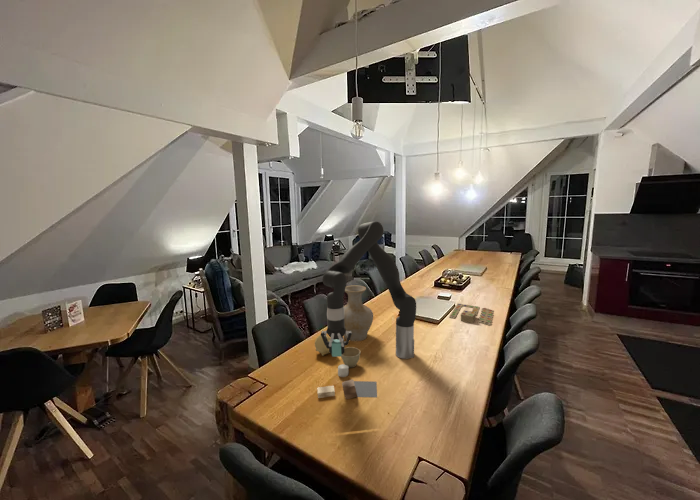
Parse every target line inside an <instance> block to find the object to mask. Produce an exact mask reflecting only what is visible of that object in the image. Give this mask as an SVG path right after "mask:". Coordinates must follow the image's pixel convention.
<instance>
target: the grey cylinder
mask: <svg viewBox="0 0 700 500" xmlns="http://www.w3.org/2000/svg"><path fill="white" fill-rule="evenodd" d="M349 369H350V368H349V367H348V365H345V364H344V363H342V364H339V365H338V367H337V375H338V377H340V378H346V377H348V376H349V373H350V371H349Z"/></svg>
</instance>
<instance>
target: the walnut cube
mask: <svg viewBox="0 0 700 500" xmlns="http://www.w3.org/2000/svg"><path fill="white" fill-rule="evenodd" d="M354 381H355V380H354V378H352V379H348V380H345V381H342V382H341V387H342V390H343V395H344V399H345V400H350V399H354V398H358V397H357V393H356V388H355V384H354Z"/></svg>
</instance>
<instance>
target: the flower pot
mask: <svg viewBox="0 0 700 500" xmlns="http://www.w3.org/2000/svg"><path fill="white" fill-rule="evenodd" d="M360 356H361V349H359V348H357V347H353V346H351V347H350V346H348V347H345V352H344V353H343V355H341V360H342V362H343V364H344V365H348V367H349V369H352V368H355V367H356V366H357V365H358V362H359V360H360Z"/></svg>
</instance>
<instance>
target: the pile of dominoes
mask: <svg viewBox="0 0 700 500" xmlns="http://www.w3.org/2000/svg"><path fill="white" fill-rule="evenodd" d="M462 307H463V308H464V307H465V308H470V309H472V310H471V311H470V310H466V309H465V310H463V311H462V312H461V313H460V322H462V323H463V322H464V323H469V324H474V322H475V320H476V318H477V316H478V314H479V310H480V306H476V305H470V304H463V303H456V305H455V307H454V308H453V310H452V311H451V313H450V314H449V316H448V318H449V319H454V320H455V319H457V316H458V314H459V312H460V310H461V309H462ZM493 318H494V310H493V309H491V308H490V309H489V308H487V307H483V308H481V310H480V314H479V316H478V321H477V323H479V324H482V325H485V326H488V327H489V326H492V324H493Z"/></svg>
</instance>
